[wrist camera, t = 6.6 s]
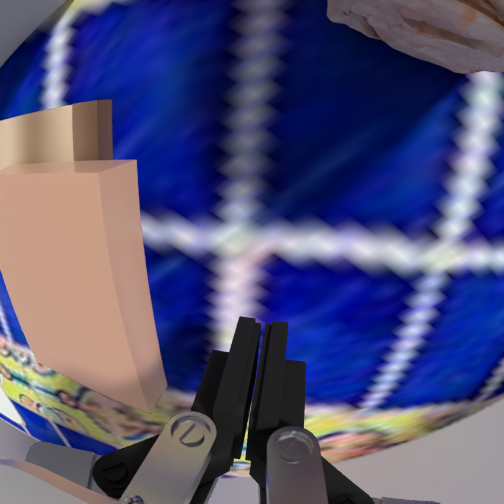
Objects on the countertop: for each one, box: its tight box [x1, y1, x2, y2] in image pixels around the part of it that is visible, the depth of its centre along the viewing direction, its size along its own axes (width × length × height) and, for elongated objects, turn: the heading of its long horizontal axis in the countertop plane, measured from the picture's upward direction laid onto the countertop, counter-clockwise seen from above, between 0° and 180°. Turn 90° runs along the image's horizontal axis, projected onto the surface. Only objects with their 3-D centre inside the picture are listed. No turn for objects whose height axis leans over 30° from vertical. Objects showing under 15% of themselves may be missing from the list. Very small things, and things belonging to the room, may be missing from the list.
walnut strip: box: [72, 100, 113, 161], centre depth 15 cm, size 1×17×1 cm, turn 177°
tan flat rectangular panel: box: [0, 105, 74, 348], centre depth 16 cm, size 9×17×1 cm, turn 177°
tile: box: [0, 160, 167, 414], centre depth 13 cm, size 2×12×9 cm
